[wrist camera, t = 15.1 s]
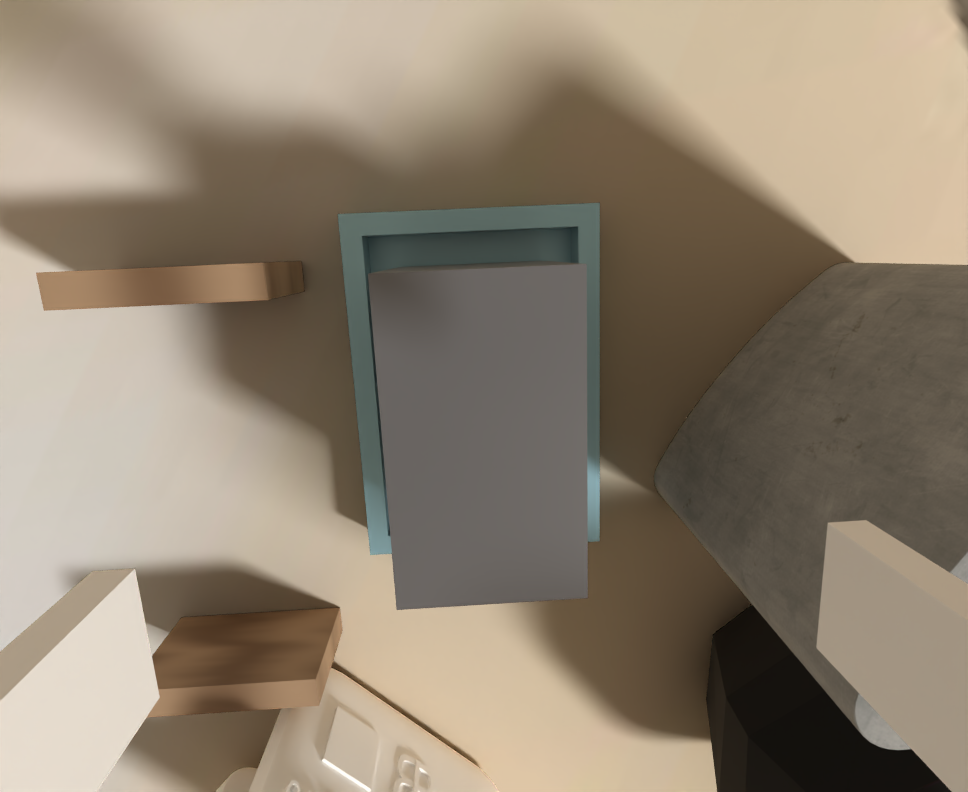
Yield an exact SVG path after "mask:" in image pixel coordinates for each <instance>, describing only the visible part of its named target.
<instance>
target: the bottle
mask: <svg viewBox="0 0 968 792" xmlns="http://www.w3.org/2000/svg"><path fill="white" fill-rule="evenodd" d="M706 701H707V709H708V718H709V726H710V734H711V743H712V751H713V759H714V768H715V776H716V784H717V792H952V791H951V790H950V789H949V788H948V787H947V786H946V785H945V784H944V783H943V782H942V781H941V780H940V779H939V778H938V777H937V775H936V774H935V773H934V772H933V771H932V770H931V769H930V768H929V767H928V766H927V765H926V764H925V763H924V762H923V761H922V760H921V758H920V757H919V756H918V755H917V754H916V753H915V752H914V751H913V750H912V749H906V750H891V749H886V748H882V747H878V746H876V745H875V744H873V743H871V742H869V741H868V740H867V739H866V738H865V737H863V736H862V734H861V733H860V732H859V731H858V730H857V728H856V727H855V726H854V725H853V724H852V722H851V721H850V720H849V719H848V718H847V717H846V715H845V714H844V713H843V712H842V711H841V709H840V708H839V707H838V706H837V705H836V703H835V702H834V701H833V700H832V699H831V697H830V696H829V695H828V694H827V693H826V692H825V690H824V689H823V688H822V687H821V686H820V684H819V683H818V682H817V681H816V680H815V678H814V677H813V676H812V675H811V674H810V672H809V671H808V670H807V669H806V668H805V667H804V665H803V664H802V663H801V662H800V661H799V659H798V658H797V657H796V656H795V655H794V653H793V652H792V651H791V650H790V649H789V647H788V646H787V645H786V644H785V643H784V642H783V640H782V639H781V638H780V637H779V636H778V634H777V633H776V632H775V631H774V630H773V628H772V627H771V626H770V625H769V624H768V622H767V621H766V620H765V619H764V618H763V617H762V615H761V614H760V613H759V612H758V611H757V609H756V608H755V607H754V606H753V605H751V606H750V607H749V608H748V609H746V610H745V611H744V612H742V613H741V614H740V615H738V616H737V617H736V618H734V619H733V620H732V621H730V622H729V623H728V624H727V625H725V626H724V627H723V628H721V629H720V630H719V631H717V632H716V633H715V634H713V640H712V649H711V659H710V668H709V678H708V687H707V697H706Z"/></svg>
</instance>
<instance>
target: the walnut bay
mask: <svg viewBox="0 0 968 792" xmlns="http://www.w3.org/2000/svg"><path fill="white" fill-rule="evenodd" d="M36 275H37V280H38V284H39V289H40V294H41V299H42V303H43V308H44V311H45V310H66V309H88V308H109V307H130V306H151V305H173V304H194V303H215V302H237V301H258V300H270V299H274V298H279V297H283V296H287V295H291V294H295V293H300V292H304V291H305V290H304V281H303V272H302V263H301V261H289V262H265V263H243V264H220V265H198V266H176V267H154V268H132V269H109V270H87V271H65V272H43V273H36ZM341 634H342V622H341V613H340V608H324V609H308V610H292V611H276V612H260V613H244V614H228V615H212V616H196V617H182V618H181V619H180V620H179V621H178V623H177V624H176V625H175V627H174V628H173V629H172V631H171V632H170V633H169V635H168V636H167V637H166V639H165V640H164V641H163V642H162V644H161V645H160V646H159V648H158V649H157V650H156V652H155V653H154V654H153V656H152V660H153V665H154V670H155V675H156V680H157V686H158V691H159V696H160V698H159V699H158V701H157V702H156V704H155V705H154V707H153V708H152V710H151V711H150V713H149V714H148V716H147V717H160V716H175V715H190V714H205V713H220V712H235V711H250V710H265V709H280V708H295V707H309V706H319V705H320V701H321V698H322V695H323V692H324V689H325V685H326V682H327V679H328V676H329V672H330V669H331V666H332V663H333V659H334V656H335V653H336V650H337V646H338V643H339V640H340V637H341Z"/></svg>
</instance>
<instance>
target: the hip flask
mask: <svg viewBox="0 0 968 792" xmlns="http://www.w3.org/2000/svg"><path fill="white" fill-rule="evenodd" d="M654 483H655V487H656V489H657V491H658V492H659V494H660V495H661V496H662V497H663V499H664V500H665V501H666V502H667V503H668V505H669V506H670V507H671V508H672V509H673V511H674V512H675V513H676V514H677V515H678V516H679V518H680V519H681V520H682V521H683V522H684V524H685V525H686V526H687V527H688V528H689V530H690V531H691V532H692V533H693V534H694V536H695V537H696V538H697V539H698V540H699V541H700V543H701V544H702V545H703V546H704V547H705V549H706V550H707V551H708V552H709V553H710V555H711V556H712V557H713V558H714V559H715V561H716V562H717V563H718V564H719V565H720V566H721V568H722V569H723V570H724V571H725V572H726V574H727V575H728V576H729V577H730V578H731V580H732V581H733V582H734V583H735V584H736V586H737V587H738V588H739V589H740V590H741V592H742V593H743V594H744V595H745V596H746V597H747V599H748V600H749V601H750V602H751V603H752V605H753V606H754V607H755V608H756V609H757V611H758V612H759V613H760V614H761V615H762V617H763V618H764V619H765V620H766V621H767V622H768V624H769V625H770V626H771V627H772V628H773V630H774V631H775V632H776V633H777V634H778V636H779V637H780V638H781V639H782V640H783V642H784V643H785V644H786V645H787V646H788V647H789V649H790V650H791V651H792V652H793V653H794V655H795V656H796V657H797V658H798V659H799V661H800V662H801V663H802V664H803V665H804V667H805V668H806V669H807V670H808V671H809V672H810V674H811V675H812V676H813V677H814V678H815V680H816V681H817V682H818V683H819V684H820V686H821V687H822V688H823V689H824V690H825V692H826V693H827V694H828V695H829V696H830V697H831V699H832V700H833V701H834V702H835V703H836V705H837V706H838V707H839V708H840V709H841V711H842V712H843V713H844V714H845V715H846V717H847V718H848V719H849V720H850V721H851V722H852V724H853V725H854V726H855V727H856V728H857V730H858V731H859V732H860V733H861V734H862V736H863V737H865V738H866V739H867V740H868V741H869V742H871V743H873V744H875V745H876V746H878V747H882V748H886V749H891V750H906V749H911V748H910V747H909V746H908V745H907V744H906V743H905V741H904V740H903V739H902V738H901V737H900V736H899V735H898V734H897V733H896V732H895V731H894V730H893V729H892V728H891V727H890V726H889V724H888V723H887V722H886V721H885V720H884V719H883V718H882V717H881V716H880V715H879V714H878V713H877V712H876V711H875V710H874V709H873V707H872V706H871V705H870V704H869V703H868V702H867V701H866V700H865V699H864V698H863V697H862V696H861V695H860V694H859V693H858V692H857V690H856V689H855V688H854V687H853V686H852V685H851V684H850V683H849V682H848V681H847V680H846V679H845V678H844V677H843V676H842V675H841V673H840V672H839V671H838V670H837V669H836V668H835V667H834V666H833V665H832V664H831V663H830V662H829V661H828V660H827V659H826V658H825V656H824V655H823V654H822V653H821V652H820V651H819V650H818V649H817V648H816V645H817V634H818V624H819V613H820V602H821V591H822V580H823V569H824V558H825V547H826V536H827V525H828V523H830V522H845V521H860V520H867V521H868V522H870V523H871V524H873V525H875V526H876V527H878V528H879V529H881V530H883V531H884V532H886V533H887V534H889V535H891V536H892V537H894V538H895V539H897V540H898V541H900V542H902V543H903V544H905V545H906V546H908V547H910V548H911V549H913V550H914V551H916V552H918V553H919V554H921V555H922V556H924V557H926V558H927V559H929V560H930V561H932V562H933V563H935V564H937V565H938V566H940V567H941V568H943V569H945V570H946V571H948V572H949V573H951V574H953V575H954V576H956V577H957V578H959V579H961V580H962V581H964V582H965V583H967V584H968V265H939V264H890V263H839V264H836V265H833V266H831V267H830V268H828V269H827V270H825V271H824V272H823V273H822V274H820V275H819V276H818V277H817V278H815V279H814V280H813V281H812V282H811V283H809V284H808V285H807V286H806V287H805V288H804V289H802V290H801V291H800V292H799V293H798V294H797V295H795V296H794V297H793V298H792V299H791V300H790V301H789V302H788V303H787V304H786V305H784V306H783V307H782V308H781V309H780V310H779V311H778V312H777V313H776V314H775V315H774V316H773V317H772V318H771V319H770V320H769V321H768V322H767V323H766V324H765V325H764V326H763V327H762V328H761V329H760V330H759V331H758V332H757V333H756V334H755V335H754V336H753V337H752V338H751V340H750V341H749V342H748V343H747V344H746V345H745V346H744V347H743V348H742V349H741V351H740V352H739V353H738V354H737V355H736V356H735V357H734V359H733V360H732V361H731V362H730V363H729V364H728V366H727V367H726V368H725V369H724V370H723V371H722V373H721V374H720V375H719V376H718V377H717V379H716V380H715V381H714V382H713V384H712V385H711V386H710V387H709V389H708V390H707V391H706V393H705V394H704V395H703V396H702V398H701V399H700V400H699V402H698V403H697V405H696V406H695V407H694V409H693V410H692V411H691V413H690V414H689V416H688V417H687V419H686V420H685V422H684V423H683V425H682V426H681V427H680V429H679V430H678V432H677V434H676V435H675V437H674V438H673V440H672V442H671V443H670V445H669V447H668V448H667V450H666V452H665V453H664V455H663V457H662V459H661V460H660V462H659V464H658V466H657V468H656V470H655V475H654Z"/></svg>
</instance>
